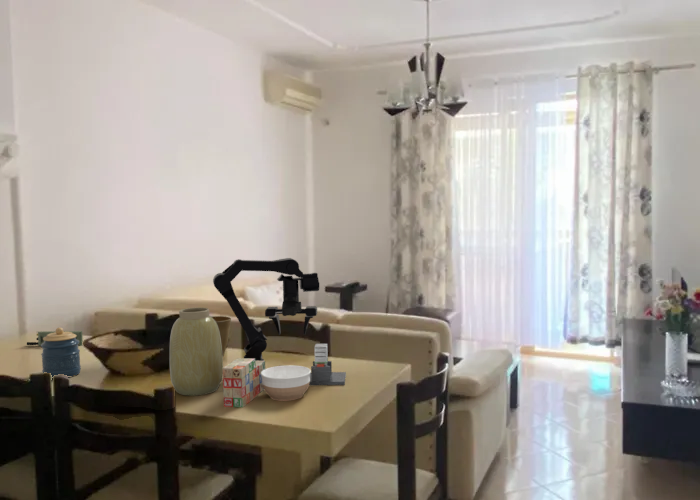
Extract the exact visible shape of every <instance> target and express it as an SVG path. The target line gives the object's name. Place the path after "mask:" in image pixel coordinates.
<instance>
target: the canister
mask: <svg viewBox="0 0 700 500" xmlns="http://www.w3.org/2000/svg"><path fill="white" fill-rule="evenodd" d="M55 331H56V332H55V333H50V334H48V335H47V336H46V337H44V338H43V340H44V343H42V344H41V346H40V347H41V349H42V352H41V362H42V363H41V364H42V365H41V366H42V371H41V372H43V373H44V372H47V373H51V375H52V377H53V376H54V375H58V374H64V375H67V376H72V377H74V376H73V375H76V376H77V374H78V375H80V374H81V369H82V366H81V359H80V348H79V346H78V344H79V341H78V340H77V339H76V338H75V337H76V336H77V335H75V334H73V333H72V332H63V331H64V328H63V327H57V328H56V329H55Z"/></svg>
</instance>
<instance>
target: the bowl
mask: <svg viewBox="0 0 700 500" xmlns="http://www.w3.org/2000/svg"><path fill="white" fill-rule="evenodd" d="M310 373H311V368H309V367H307V366H304V365H303V366H302V365H295V364H294V365H290V364H288V365H287V364H286V365H278V366H277V365H276V366H271V367H267V368H265V370H263V371H262V372H261V376H262V384H263V388H264V390H263V391H265V393H266V394H267V395H268V396H269V399H271V400H274V401H280V402H283V401H284V402H289V401H295V400H299V399H301V398H302V397H303V396H304V393H306V392H307V390H308V388H309V387H310V385H309V383H310V376H309V375H310Z"/></svg>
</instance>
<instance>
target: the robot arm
mask: <svg viewBox="0 0 700 500" xmlns="http://www.w3.org/2000/svg"><path fill="white" fill-rule="evenodd" d="M245 271H247V272H275V273H278V274H280V275H279V276H278V278H277V279H276V280H277V281H279V282H282V292H283V293H282V295H283V296H282V298H283V301H282V304H281V305H282V306H281V308H278V306H268V307H267V308H266V309H265V310H264V311H265V312H264V316H265V317H266V318H267V317H268V319H269V320H272V321H273V323H274V326H275V328H276V330H277V331H276V332H277V333H278V335H279V336H280V335H281V324H280V315H282V316H283V317H287V316H290V317H294V316H296V315H298V314H299V315H300V314H301V315H302V314H303V315H304V314H305V316H304V322H303V324H304V325H303V335H306V332H307V329H308V326H309V323H310V320H311V319H314V317H315V316H316V317H317V315H318V307H317V306H316V305H306V307H305V308H302V307H303V306H302V302H301V301H300V295H299V294H300V292H299V290H302V291H303V293H304V292H305V293H306V292H307V293H308V292H309V293H310V292H319V291H320V281H319V276H318V274H319V273H317V272H312V273H303V271H302V270H301V269H300V264H299V262H298V261H297V260H296V259H293V258H291V257H286V258H279V259H275V260H258V259H257V260H256V259H255V260H254V259H251V260H250V259H235V260H234V261H233V263H232V264H231V265H229V266H228V267H227V268H225V269H224V270H223V271H222V272H218V273H217V274H215V275H214V277H213V279H212V282H213V285H214V287H215V289H216V290H217V292H219V293H220V295H221V296H222V297H223V298H224V300H226V302H227V303H228V305H229V306H230V309H231V310H232V311H233V313H234V315H235V317H236V319H237V320H238V322H239V324H240V326H241V327H242V329H243V331H244V332H245V334H246V337H247V341H248V343H247V345H245V347H244V348H243V350H244V353H245V354H244V356H243V358H252V359H255V361H257V360H258V361H265V360H264V358H263V353H264V351H265V352H266V349H267V347H268V343H267V340H268V339H267V338H268V337H266V335H265V334H264V333H263V330H262V329H261V327H258V328H257V327H255V325H254V324H253V323H252V321H251V319H250V318H249V316H248V314H247V312H246V311H245V309H244V307H243V306H242V304H241V303H240V300H239V298H238V297H237V296H236V294H235V291H234V287H233V285H232V281H234V280H235V278H236V277H237V276H238V275H239V274H240V273H241V272H245ZM293 275H294V276H296V277H293Z"/></svg>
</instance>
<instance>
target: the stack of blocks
mask: <svg viewBox="0 0 700 500" xmlns="http://www.w3.org/2000/svg"><path fill="white" fill-rule="evenodd" d="M265 369H266V360H264V361H258V360H257V361H255V359H252V358H244V357H243V358H241V357H237V358H235V359H234V360H232V361H231V362H230V363H228V364H227V365H225V366H223V377H222V390H223V407H224V408H225V407H228V408H229V407H230V408H243V407H245V406H247V405H248V404H249V403H250V402H251V401H252V400H254V399H255V397H257V396H258V395H259V394H260V393H261V392H263V391H265V390H264V388H263V384H262V376H261V372H262V371H263V370H265Z"/></svg>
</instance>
